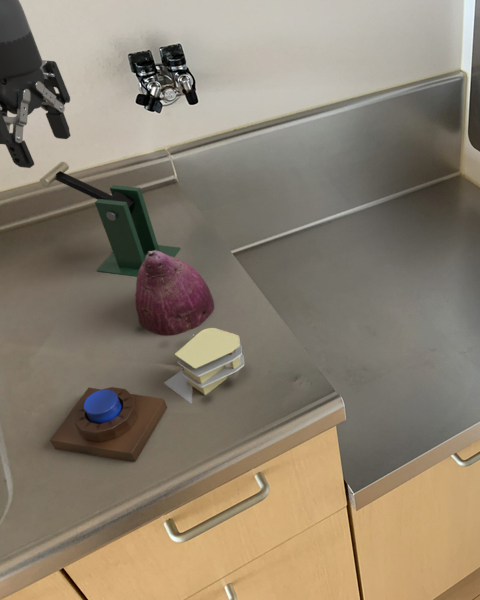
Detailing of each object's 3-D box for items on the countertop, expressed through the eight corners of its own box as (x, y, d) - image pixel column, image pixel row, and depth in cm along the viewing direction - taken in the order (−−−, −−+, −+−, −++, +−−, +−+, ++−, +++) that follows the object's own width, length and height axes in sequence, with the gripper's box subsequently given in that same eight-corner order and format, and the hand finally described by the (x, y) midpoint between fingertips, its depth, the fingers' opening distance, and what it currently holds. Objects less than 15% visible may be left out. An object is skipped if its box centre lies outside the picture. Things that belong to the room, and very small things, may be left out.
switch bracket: (98, 276, 94) (70, 206, 86) (125, 246, 100) (100, 177, 92) (159, 284, 93) (136, 213, 85) (182, 253, 99) (163, 184, 91)
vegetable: (205, 354, 87) (188, 296, 74) (132, 344, 86) (102, 283, 74) (224, 294, 92) (212, 230, 80) (156, 284, 92) (132, 218, 80)
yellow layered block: (209, 417, 74) (200, 387, 71) (163, 383, 78) (152, 353, 75) (269, 369, 80) (264, 339, 77) (224, 339, 84) (216, 310, 81)
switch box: (55, 448, 71) (43, 430, 68) (92, 396, 77) (83, 377, 74) (135, 462, 69) (126, 443, 67) (167, 407, 75) (160, 389, 73)
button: (82, 421, 70) (77, 411, 69) (99, 397, 73) (94, 387, 71) (111, 425, 69) (106, 416, 68) (127, 401, 72) (123, 391, 71)
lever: (39, 186, 87) (39, 174, 85) (59, 169, 90) (60, 157, 89) (121, 225, 89) (123, 213, 87) (137, 206, 92) (140, 194, 91)
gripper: (6, 12, 81) (51, 127, 91) (-75, 48, 70) (-13, 174, 81) (58, 15, 80) (97, 131, 90) (-16, 53, 69) (38, 179, 80)
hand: (45, 151), depth 86 cm, fingers open, 8 cm apart
